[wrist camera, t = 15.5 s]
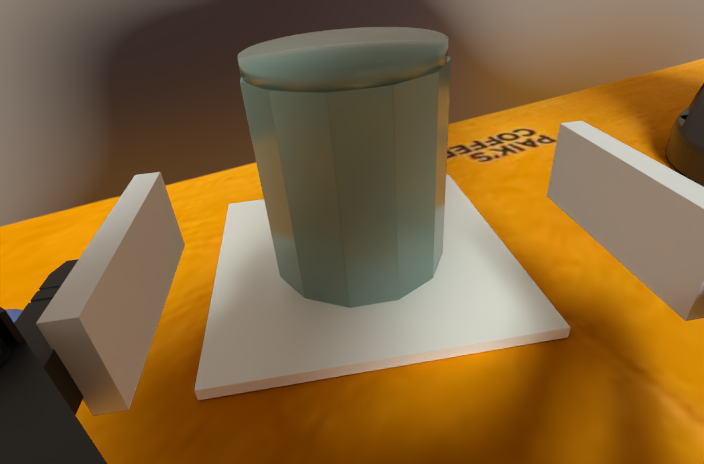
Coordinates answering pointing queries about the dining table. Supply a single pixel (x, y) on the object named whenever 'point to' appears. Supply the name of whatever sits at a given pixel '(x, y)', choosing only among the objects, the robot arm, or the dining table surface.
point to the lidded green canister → (352, 157)
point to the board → (363, 310)
